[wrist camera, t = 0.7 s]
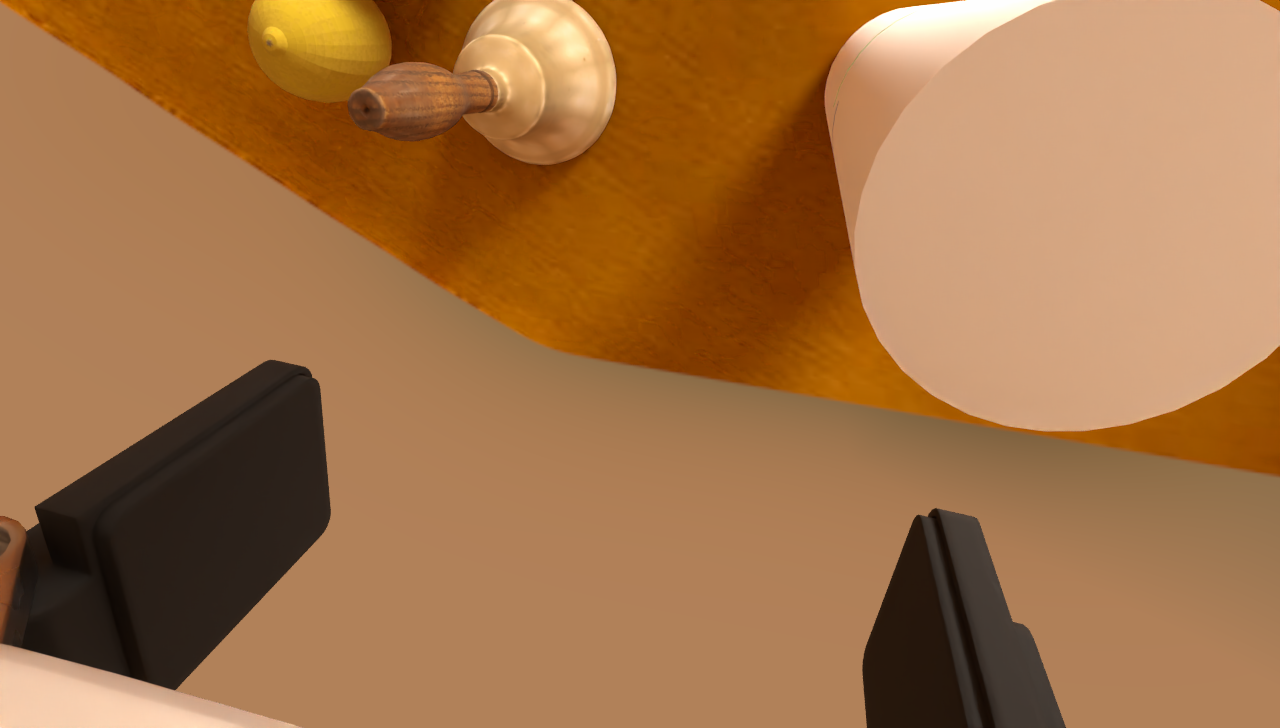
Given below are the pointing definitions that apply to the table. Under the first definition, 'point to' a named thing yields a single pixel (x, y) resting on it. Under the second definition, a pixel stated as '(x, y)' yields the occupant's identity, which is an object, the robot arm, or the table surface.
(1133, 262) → the cylindrical container
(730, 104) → the table surface
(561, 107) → the hand bell
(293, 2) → the lemon
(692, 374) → the table surface
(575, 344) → the table surface
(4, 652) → the robot arm
